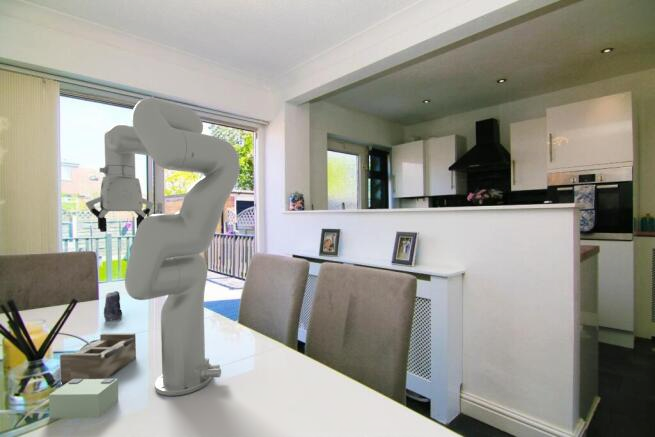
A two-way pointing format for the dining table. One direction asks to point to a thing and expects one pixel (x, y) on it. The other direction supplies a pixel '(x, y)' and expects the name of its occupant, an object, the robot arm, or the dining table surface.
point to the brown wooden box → (99, 358)
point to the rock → (112, 306)
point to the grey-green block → (83, 398)
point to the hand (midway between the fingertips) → (122, 230)
